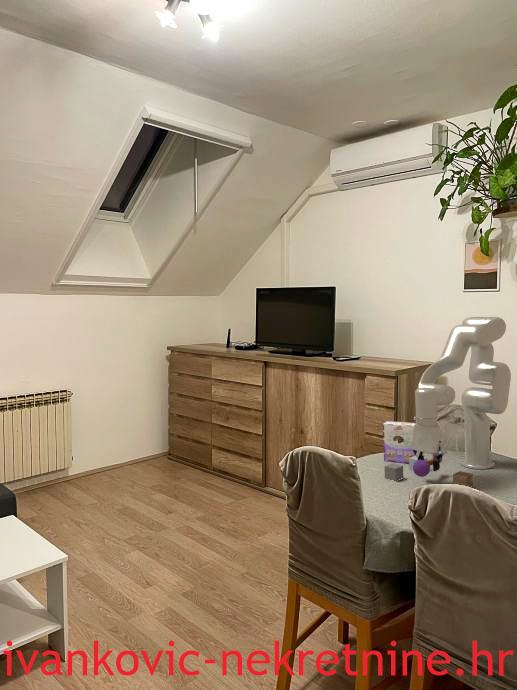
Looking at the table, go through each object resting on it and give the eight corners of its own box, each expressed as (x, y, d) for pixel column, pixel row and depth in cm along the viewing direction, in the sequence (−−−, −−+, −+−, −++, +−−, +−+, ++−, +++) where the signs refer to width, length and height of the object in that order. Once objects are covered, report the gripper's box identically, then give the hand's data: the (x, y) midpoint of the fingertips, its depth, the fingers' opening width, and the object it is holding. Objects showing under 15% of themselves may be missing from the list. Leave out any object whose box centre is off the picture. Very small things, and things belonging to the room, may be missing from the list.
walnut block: (460, 484, 204) (460, 471, 203) (473, 487, 200) (472, 473, 200) (453, 487, 201) (452, 474, 200) (466, 490, 197) (465, 477, 196)
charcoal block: (392, 475, 217) (392, 463, 216) (403, 478, 213) (403, 465, 212) (384, 479, 213) (384, 466, 213) (395, 481, 210) (395, 468, 209)
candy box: (419, 461, 234) (418, 422, 233) (415, 464, 229) (415, 425, 228) (387, 457, 241) (386, 420, 240) (383, 461, 236) (382, 423, 235)
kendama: (446, 453, 213) (427, 464, 197) (444, 468, 214) (424, 480, 198) (431, 449, 216) (411, 459, 200) (429, 463, 217) (408, 475, 201)
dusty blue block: (416, 467, 226) (416, 455, 225) (427, 470, 222) (427, 457, 222) (409, 470, 222) (409, 458, 222) (420, 473, 219) (420, 460, 218)
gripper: (401, 420, 209) (403, 466, 211) (442, 426, 196) (444, 476, 198) (412, 416, 214) (414, 461, 216) (453, 422, 201) (455, 470, 203)
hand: (428, 468), depth 207 cm, fingers closed on kendama, 5 cm apart
